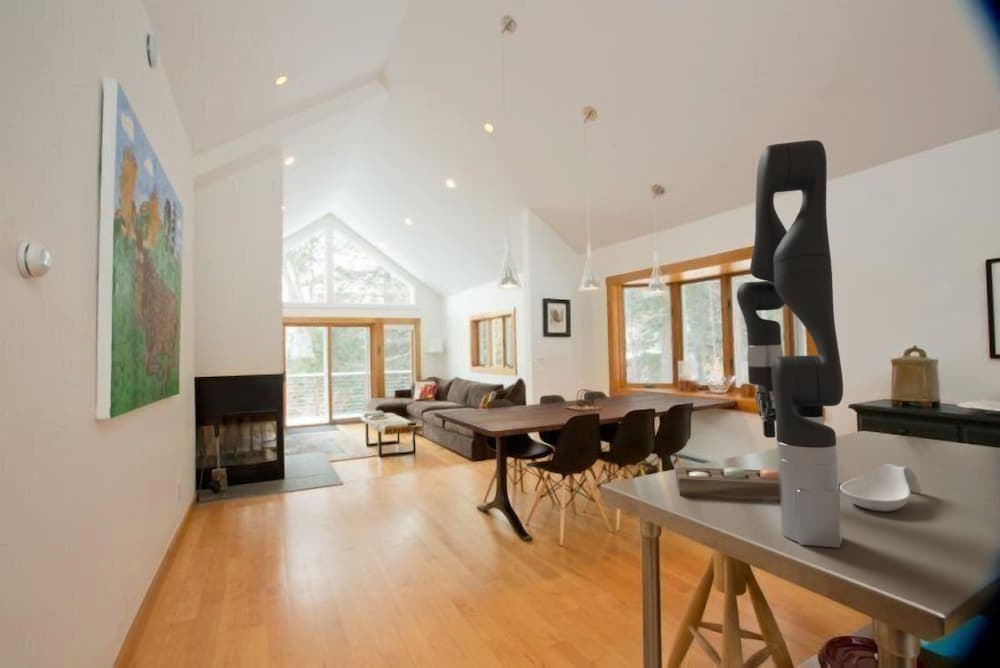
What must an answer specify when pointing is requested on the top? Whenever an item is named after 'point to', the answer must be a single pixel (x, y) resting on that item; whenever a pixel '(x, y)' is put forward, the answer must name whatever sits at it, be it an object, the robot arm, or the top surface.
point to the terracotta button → (769, 474)
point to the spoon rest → (882, 488)
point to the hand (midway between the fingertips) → (769, 436)
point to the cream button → (699, 474)
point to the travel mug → (811, 413)
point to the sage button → (734, 473)
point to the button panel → (726, 485)
